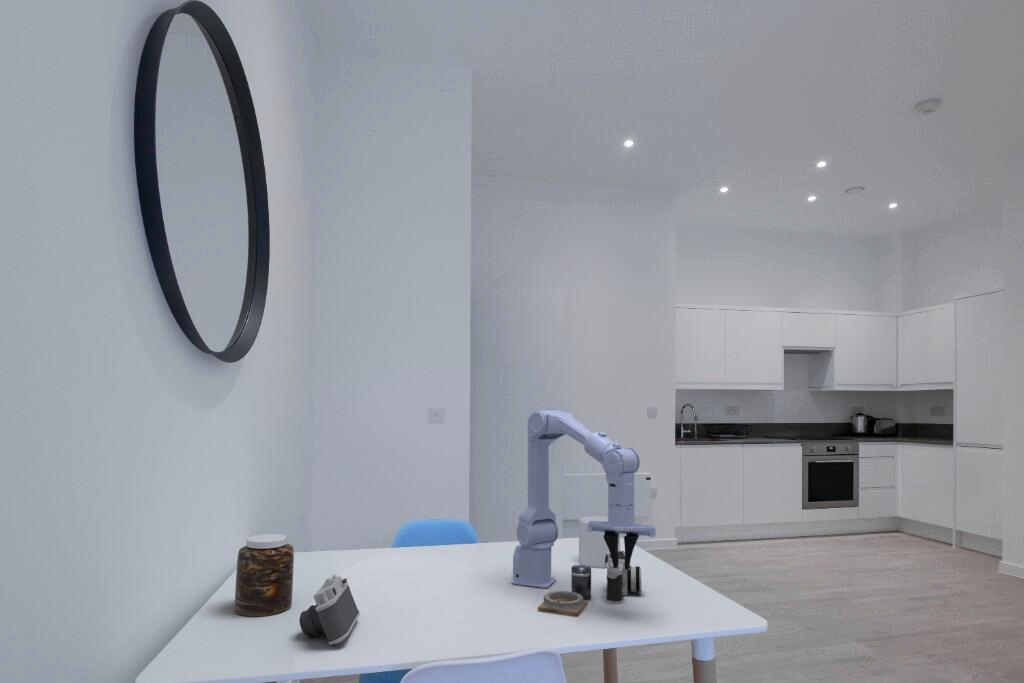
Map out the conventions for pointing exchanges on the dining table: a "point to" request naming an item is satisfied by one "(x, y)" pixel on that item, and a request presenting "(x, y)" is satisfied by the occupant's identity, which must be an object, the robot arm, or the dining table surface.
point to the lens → (581, 581)
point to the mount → (563, 603)
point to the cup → (593, 544)
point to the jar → (264, 576)
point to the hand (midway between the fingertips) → (621, 567)
